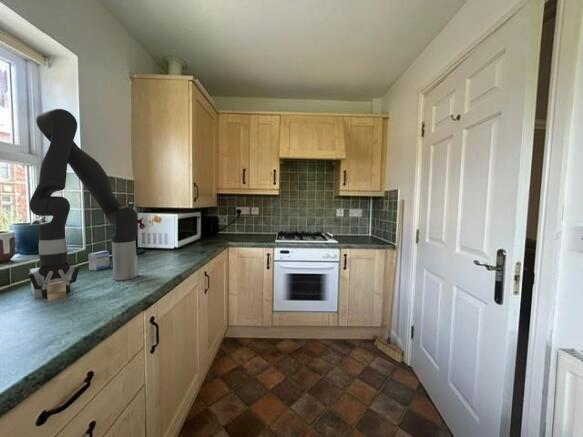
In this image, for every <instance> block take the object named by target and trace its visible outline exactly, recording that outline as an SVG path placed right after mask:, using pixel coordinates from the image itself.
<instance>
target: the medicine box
mask: <svg viewBox="0 0 583 437" xmlns="http://www.w3.org/2000/svg"><path fill="white" fill-rule="evenodd" d="M87 255H88V256H87V258H88V270H89V271H99V270H103V269H107V268H109V267H110V252H109V251H108V250H101V251H96V252H91V253H88V254H87Z"/></svg>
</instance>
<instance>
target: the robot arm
mask: <svg viewBox="0 0 583 437" xmlns="http://www.w3.org/2000/svg"><path fill="white" fill-rule="evenodd" d="M35 122H36V126H37V127H38V130H39V131H40V132H41V133H42V134H43V135H44V137H45V138H46V139H47V140H48V141H49V146H48V149H47V151H46V153H45V156H44V157H43V160H42V161H41V164H40V170H39V178H38V180H39V181H38V185H36V187H35V190H34V192H33V194H32V196H31V198H30V201H29V209H30V211H31V213H32V214H33V215H35V216H37V217H52V219H51V220H50V221H48V222H42V223H40V224H39V225H38V227H37V228H38V229H37V230H38V257H39V267H38V268H39V270H38V271H36V272H33V273H30V272H29V273H28V278H29V280H30V283H31V282H32V284H33V286H34V289H36V290H37V289H40V290H42V297H41V298H42V300H43V299H44V300H46V301H47V299H48V297H47V289H46V288H47V285H48V283H49V281H50V280H53V279H59V278H62V279H63V281H64V282H65V283H66V296H69V294H70V293H71V291H70V284H71V283H72V284H74V283H76V282H77V279H78V274H79V270H80V267H79V266H78V265H69V257H68V256H69V255H68V244H67V238H66V226H67V225H66V224H67V220H68V217H69V213H70V210H71V204H70V201H69V200H68V199H67V198H66V197H64V196H60V195H59V196H58V195H57V196H56V195H55V196H52V195H53V193H55V192H60V191H63V190H65V189H66V185H67V171H68V165H69V168H71V169H72V170H73V172H74V174H75V175H76V176H77V177H78V180H80V182H81V183H82V184H83V186H84V188H86V189H87V191H88V192H89V194H90V195H91V196H92V197H93V199H94V200H95V201H96V202H97V204H98V205H99V207H100V209H101V211H102V212H103V214H104V215H105V218H106V219H107V221H108V222H109V223H110V224H111V225H113V226H115V232H114V234H113V235H111V252H112V253H111V254H112V275H113V276H112V277H113V280H115V281H126V280H133V279H136V278H137V277H138V276H139V258H138V256H139V255H137V247H136V243H137V242H136V239H137V238H136V237H137V234H138V215H137V211H136V210H135V209H134V208H133V207H130V206H123V205H122V204H121V202H119V200H118V199H117V197H115V195H114V192H113V188H112V184H111V180H110V178H109V176H108V175H107V172H106V171H105V170H104V168H103V167H102V165H101V164H100V163H99V162H98V161H97V160H96V159H94V157H92V156H91V155H89V154H88V153H86V152H85V151H84V150H82V149H81V148H80V147H79V146H78V145H77V143H76V141H75V138H76V134H77V130H78V122H77V119H76V117H75V116H74V115H73V113H71V112H70V111H69V110H66V109H63V108H55V109H50V110H47V111H44V112H42V113H39V114H38V115H37V116H36V118H35ZM69 269H71V271H72V277H71V279H70V280H68V279H67V277H66V276H65V274H66V273H67V272H68V270H69ZM38 274H41V275H42V276H43V277H44V280H43V283H42V285H38V283H37V281H36V279H35V278H37V277H38Z"/></svg>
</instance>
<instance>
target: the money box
mask: <svg viewBox="0 0 583 437" xmlns="http://www.w3.org/2000/svg"><path fill="white" fill-rule="evenodd" d="M39 268H40V267H35V268H29V273H33V272H36V271H38V270H39ZM72 273H73V272H72V271H71V269H69V270H68V272H67V273H66V274H65V276H66V277H67V279H68V280H70V279H71V277H72ZM35 279H36V281H37V283H38V285H42V283H43V280H44V277H43V276H42V275H41V274H38V277H37V278H35ZM60 281H63V279H62V278H59V279H53V280H50V281H49V283H54V282H60ZM73 284H74V283H71V284H70V292H72V291H73V290H74V288H73V287H74V286H73ZM30 288H31V293H32V296H33V298H34V299H38V298H42V290H40V289H37V290H36V289H34V286H33V284H32V282H31V281H30Z"/></svg>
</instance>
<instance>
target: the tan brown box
mask: <svg viewBox="0 0 583 437" xmlns="http://www.w3.org/2000/svg"><path fill="white" fill-rule="evenodd" d="M46 289H47V297H48V299H47V300H46V301H47V303H50V302H54V301H55V302H56V301H61V300H64V299H67V295H66V283H65V282H64V281H60V282H54V283H48V285H47V288H46Z"/></svg>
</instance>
